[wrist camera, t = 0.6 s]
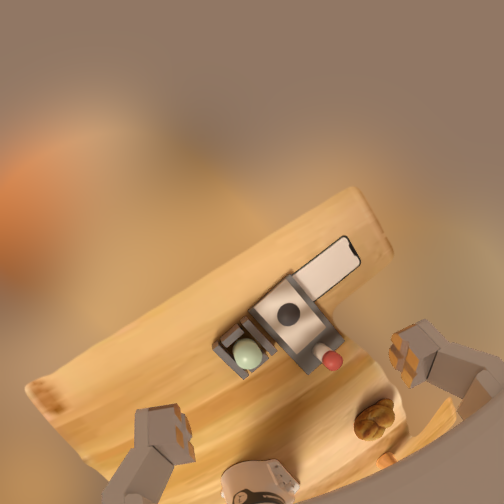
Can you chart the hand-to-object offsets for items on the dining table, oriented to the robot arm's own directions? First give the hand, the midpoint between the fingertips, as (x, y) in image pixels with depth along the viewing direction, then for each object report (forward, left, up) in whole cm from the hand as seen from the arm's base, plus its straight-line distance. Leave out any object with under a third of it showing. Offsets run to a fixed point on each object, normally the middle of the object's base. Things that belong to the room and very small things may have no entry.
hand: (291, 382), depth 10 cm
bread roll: (-56, -4, -50) cm, 75 cm away
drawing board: (-21, -5, -49) cm, 54 cm away
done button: (-16, +6, -47) cm, 50 cm away
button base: (-16, +6, -49) cm, 52 cm away
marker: (-28, -5, -48) cm, 56 cm away
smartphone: (-16, -17, -50) cm, 55 cm away
